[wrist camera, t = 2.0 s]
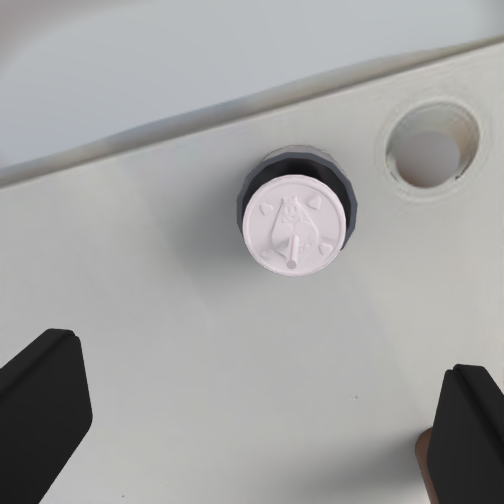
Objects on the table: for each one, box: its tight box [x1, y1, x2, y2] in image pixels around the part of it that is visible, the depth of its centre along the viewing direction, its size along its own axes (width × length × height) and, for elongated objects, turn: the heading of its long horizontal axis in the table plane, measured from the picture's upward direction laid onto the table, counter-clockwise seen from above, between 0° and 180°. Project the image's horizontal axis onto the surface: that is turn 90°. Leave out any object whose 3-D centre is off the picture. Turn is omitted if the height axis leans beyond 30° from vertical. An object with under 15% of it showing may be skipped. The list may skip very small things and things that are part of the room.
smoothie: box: [243, 175, 346, 277], centre depth 26 cm, size 6×6×14 cm
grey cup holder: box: [237, 145, 357, 251], centre depth 30 cm, size 8×8×6 cm
